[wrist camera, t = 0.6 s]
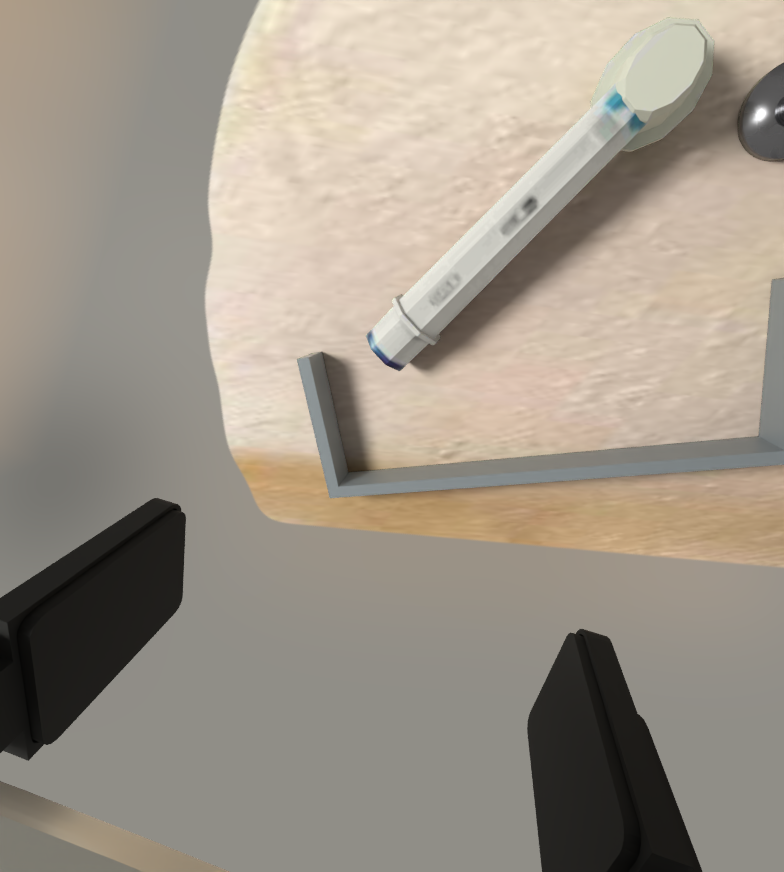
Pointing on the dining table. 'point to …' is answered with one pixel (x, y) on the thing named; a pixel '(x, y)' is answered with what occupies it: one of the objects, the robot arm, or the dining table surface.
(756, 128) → the ball stud
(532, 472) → the bay
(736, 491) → the dining table surface
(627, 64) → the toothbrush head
